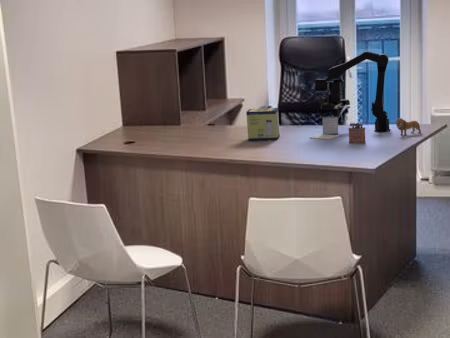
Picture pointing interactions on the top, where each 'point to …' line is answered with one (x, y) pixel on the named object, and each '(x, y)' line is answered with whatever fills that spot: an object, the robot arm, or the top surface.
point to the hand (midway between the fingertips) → (336, 120)
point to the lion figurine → (407, 126)
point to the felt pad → (324, 136)
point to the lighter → (356, 134)
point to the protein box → (263, 124)
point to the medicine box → (330, 125)
